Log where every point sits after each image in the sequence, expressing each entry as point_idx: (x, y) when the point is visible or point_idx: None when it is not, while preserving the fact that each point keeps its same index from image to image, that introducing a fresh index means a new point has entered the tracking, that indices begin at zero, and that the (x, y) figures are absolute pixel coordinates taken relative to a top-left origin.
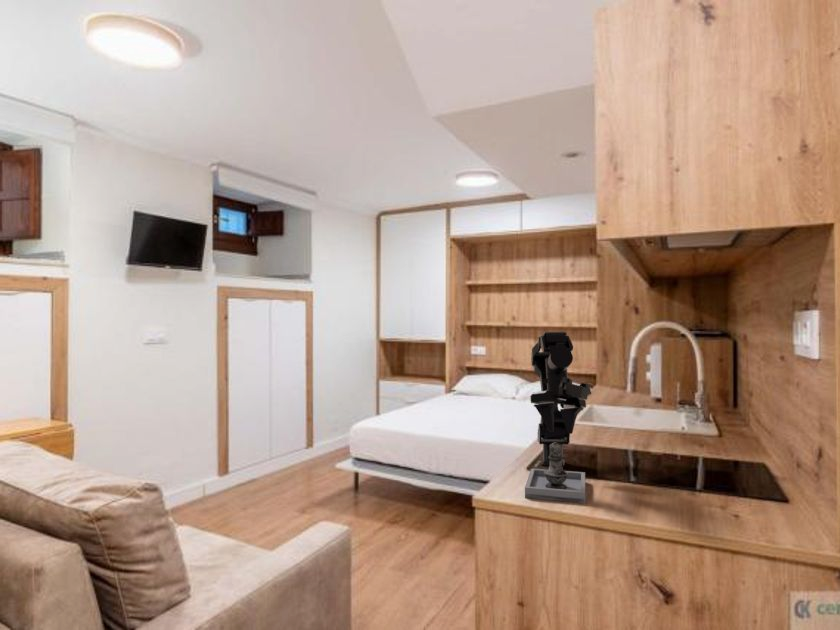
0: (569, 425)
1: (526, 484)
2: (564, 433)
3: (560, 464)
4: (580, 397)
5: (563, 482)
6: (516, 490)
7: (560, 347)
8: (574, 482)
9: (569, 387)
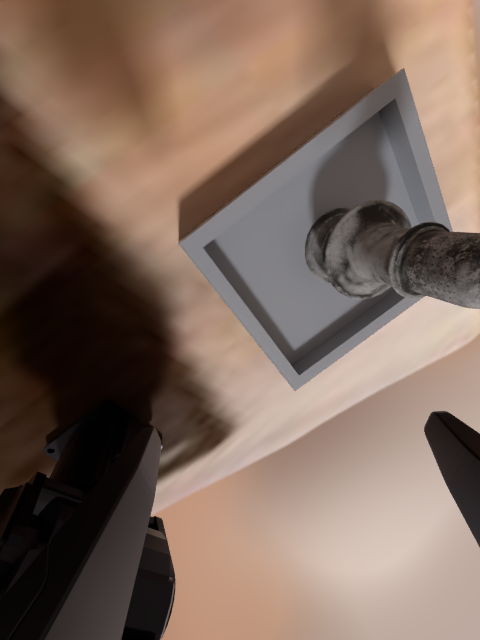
0: (135, 506)
1: None
2: (63, 521)
3: (406, 228)
4: None
5: (284, 260)
6: (398, 319)
7: None
8: (255, 234)
9: None
